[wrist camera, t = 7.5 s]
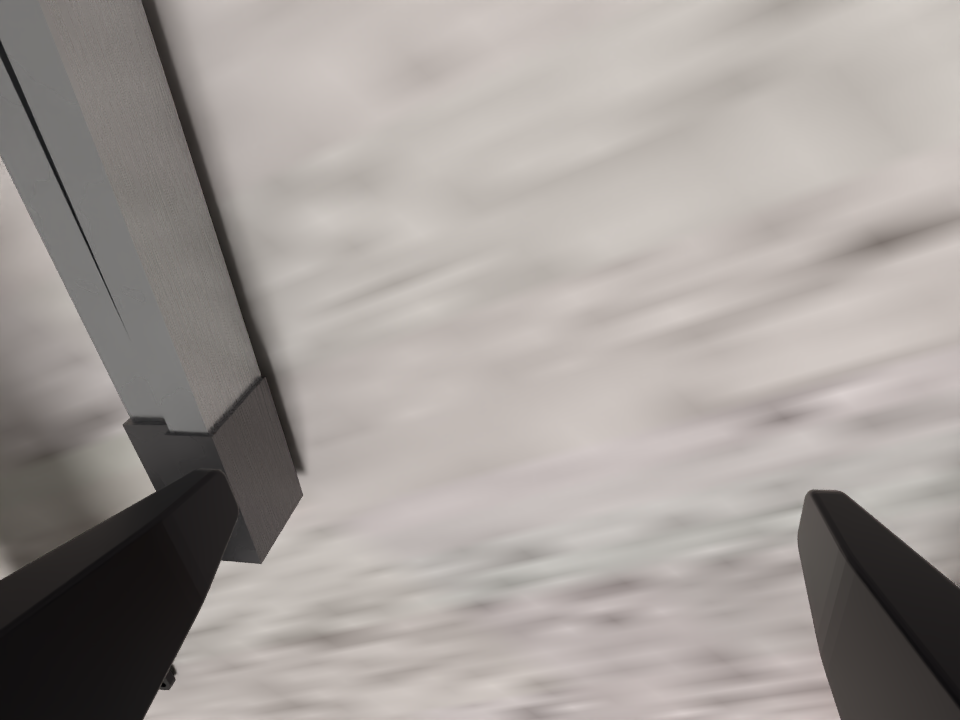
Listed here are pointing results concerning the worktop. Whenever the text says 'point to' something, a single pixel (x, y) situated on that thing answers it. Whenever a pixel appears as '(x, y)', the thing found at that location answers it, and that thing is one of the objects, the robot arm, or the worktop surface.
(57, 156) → the tongs arm
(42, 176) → the tongs fixed
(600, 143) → the worktop surface
